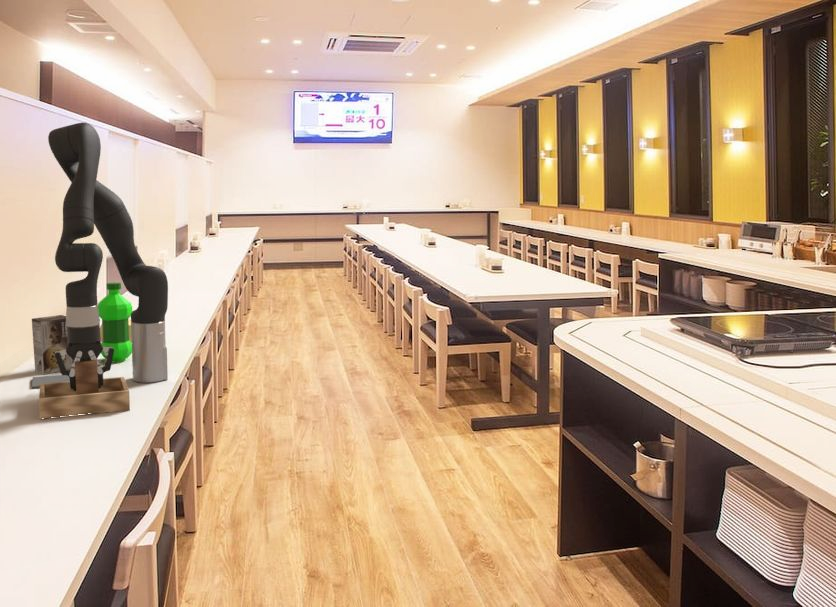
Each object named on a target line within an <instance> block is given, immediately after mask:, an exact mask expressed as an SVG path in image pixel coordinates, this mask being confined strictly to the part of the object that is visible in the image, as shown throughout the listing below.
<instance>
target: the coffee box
mask: <svg viewBox="0 0 836 607" xmlns="http://www.w3.org/2000/svg"><path fill="white" fill-rule="evenodd" d="M31 327H32V329H31V330H32V343H33V344H32V345H33V346H32V347H33V357H34V359H33V360H34V371H35V372H37V373H40V374H42V375H47V374H53V373H57V372H60V369H59V366H58V363H57V360H56V357H55V352H56V351H62V350H65V349H66V347H67V345H68V341H67V325H66V315H64V314H60V315H59V314H58V315H52V316H51V315H50V316H42V317H41V316H40V317H35V318H31ZM72 361H73V359H72V358H71V357H70V356H69V355H68V354H65V358H64V359H63V362H64V365H65V368H66V369H68V370H70V367H71V364H72Z"/></svg>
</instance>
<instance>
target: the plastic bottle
mask: <svg viewBox="0 0 836 607" xmlns="http://www.w3.org/2000/svg"><path fill="white" fill-rule="evenodd" d="M121 289H122V283H121V282H107V283H106V290H107V291H108V294H107V295H106V296H104V297H103V298H102V299H101V300H100V301H99V302H97V305H98V310H99V318H100V320H101V324H102V334H103V341H102V343H101V344H102V346H104V347H110V346H112V347H113V348H114V354H113V359H112V363H119V362H125V361H126V359H128V358H129V357H130V356H132V343H131V342H130V341H129V322H128V319H130V318H131V313H132V311H133V306H132V303H131V302H130V301H129V300H128V299H127V298H125V297H124V296H123V295H122V294H120V291H121ZM100 354H101V355H102V357H103V358H104V359H105V360H106V357H107V356H106V355H105V353H104V351H102V352H101V353H100Z"/></svg>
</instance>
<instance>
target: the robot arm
mask: <svg viewBox="0 0 836 607" xmlns="http://www.w3.org/2000/svg"><path fill="white" fill-rule="evenodd" d="M47 140H48V145H49V148H50V151H51V152H52V154H53V157H54V158H55V160H56V161H57V163H58V164H59V166H60V167H61V170H62V171H63V172H64V174H65V175H66V176H67V178H68V179H69V181H70V185H69V187H68V189H67V191H66V193H65V196H64V199H63V204H62V231H61V236H60V239H59V242H58V245H57V248H56V250H55V251H56V252H55V254H54V255H55V256H54V263H55V264H56V267H57V269H58V270H60V271H61V272H63V273H75V272H76V273H79V272H80V273H81V272H82V273H83V272H87V276H86V277H85V278H83V279H79V280H73V281H71V282H68V283H67V284H66V285H65V300H66V305H65V306H66V308H65V309H66V310H65V316H66V325H67V341H68V345H67V347H66V349H65V350H62V351H56V352H55V357H56V360H57V363H58V366H59V369H60V371H59V372H60V375H67V376H69V378H70V388H71V389H73V391H76V377H75V362H79V361H88V360H92V361H94V360H97V371H98V388H101V386H103V379H104V374H105V373H106V372H110V371H111V368H112V364H113V362H112V359H113V354H114V348H113V347H112V346H110V347H104V346H102V344H101V340H100V326H101V325H100V324H101V323H100V322H101V318H100V317H99V310H98V291H97V290H98V280H99V274H100V271H101V267H102V264H103V261H104V260H103V259H104V258H103V257H104V253H103V250H102V248H101V247H100V246H99V245H98V244H97V243H94V242H93V243H92V242H85V243H84V242H82V243H81V242H76V243H75V241H77V240H80V239H84V238H88V237H89V236H90V237H91V235H93V233H94V231H95V228H96V229H97V232H98V233H99V235H100V237H101V238H102V240H103V243H104V244H105V246H106V248H107V250H108V251H109V253H110V255H111V257H112V260H113V261H114V263H115V266H116V269H117V270H118V273H119V275H120V277H121V280H122V281H121V282H122V284H123V286H124V287H125V290H127V291H128V293H130V294H131V295H132V296H135V297H138V304H137V305H138V306H137V308H136V309H134V310H132V313H131V316H130V320H131V338H132V343H131V344H132V353H131V363H132V365H131V366H132V380H133V381H134V382H136V383H156V382H161V381H162V382H163V381H167V380H168V379H169V377H168V372H169V371H168V348H167V346H166V344H167V342H166V320H165V319H166V314H167V311H168V308H169V307H168V306H169V305H168V302H169V301H168V300H169V284H168V283H169V282H168V278H167V275H166V272H165V271H164V270H163V269H162V268H160V267H157V266H152V265H146V263H145V262H144V261H143V259H142V258H141V256H140V253H139V251H138V250H137V248H136V245H135V238H134V236H135V233H134V232H135V231H134V223H133V220H132V217H131V215H130V213H129V211H128V209H127V208H126V205H125V203H124V202H123V200H122V198H121V197H119V195H118V194H116V193H115V192H114V191H113V190H111V189H110V188H108V187H107V186H105V185H104V184H103V183H101V182H99V180H97V177H98V172H99V171H98V170H99V164H100V158H101V151H102V149H101V139H100V135H99V132H98V131H97V130H96V128H95V127H94V126H93V125H92V124H90V123H88V122H78V123H77V122H76V123H74V124H70V125H66V126H65V125H64V126H62V127H58V128H55V129H52V130H51V131H49V134H48V136H47ZM102 351H104V353H105V355H106V356H107V357H106V359H105V364H104V365H103V366H101V364H100V361H99V359H98V357H99V356H100V354H101V352H102ZM65 354H68V355H69V356H70V357H71V358H72V359H73V361H72V364H71V367H70V370H68V369H66V368H65V365H64V362H63V359H64V358H65Z"/></svg>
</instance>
